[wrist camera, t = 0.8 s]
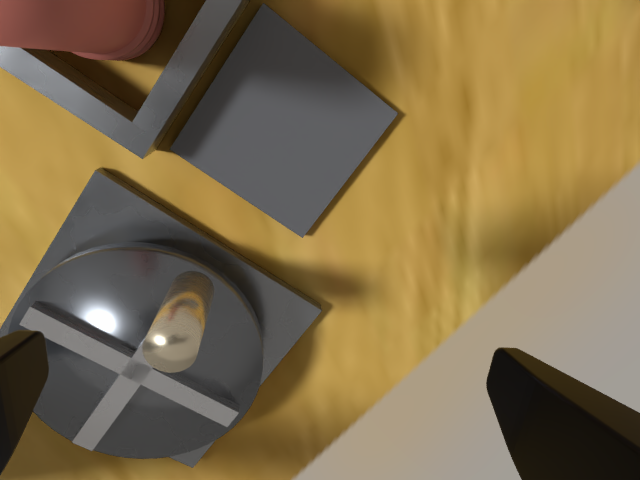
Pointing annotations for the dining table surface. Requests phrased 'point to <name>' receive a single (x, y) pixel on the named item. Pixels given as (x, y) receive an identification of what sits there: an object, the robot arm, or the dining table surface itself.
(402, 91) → the dining table surface
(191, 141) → the mat
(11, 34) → the pink rounded cylinder
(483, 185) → the dining table surface
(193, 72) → the collar
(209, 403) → the handwheel
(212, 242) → the wheel base
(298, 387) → the dining table surface
